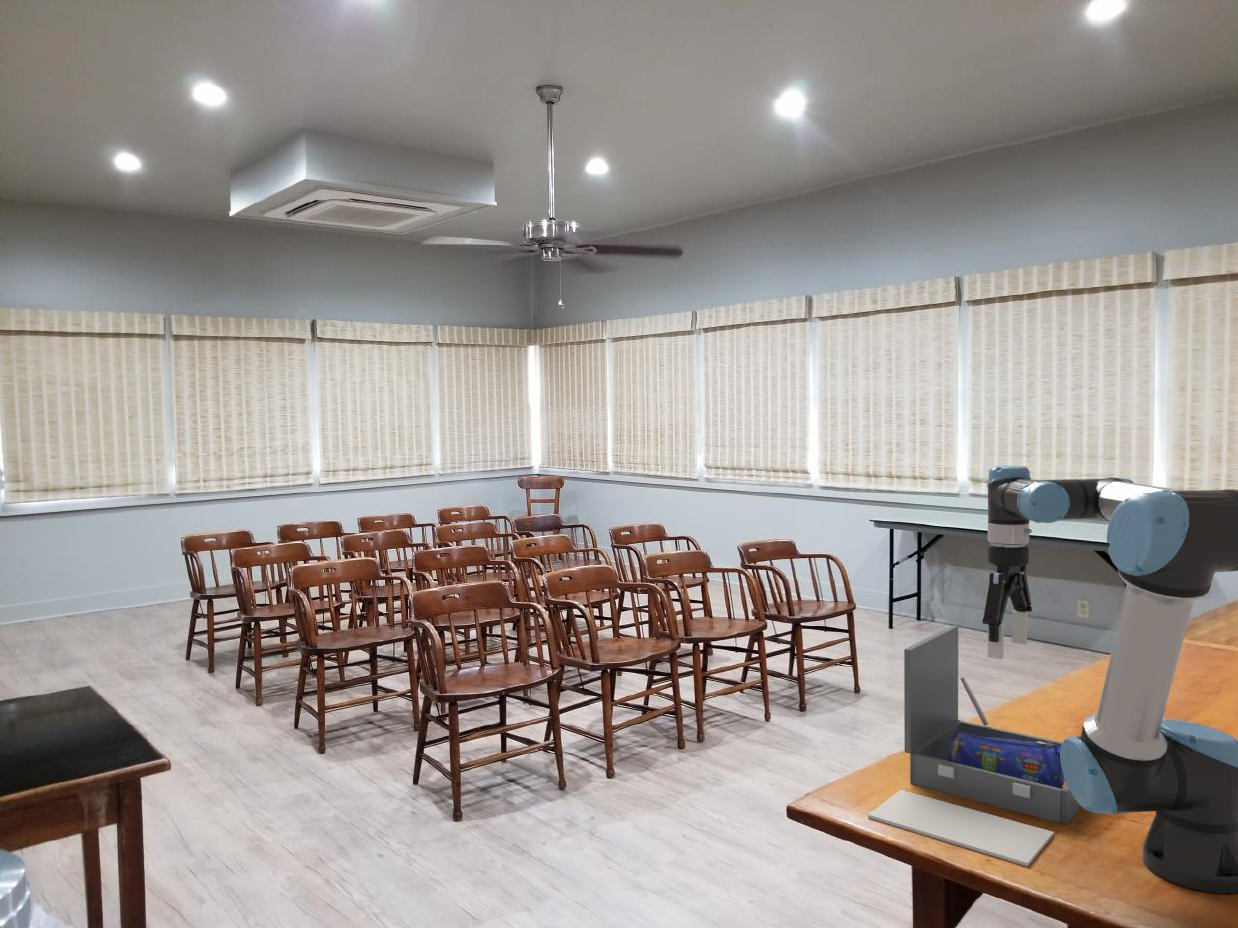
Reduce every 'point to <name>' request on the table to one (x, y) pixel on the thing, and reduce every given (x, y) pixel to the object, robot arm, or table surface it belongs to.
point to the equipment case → (937, 722)
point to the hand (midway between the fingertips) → (1007, 650)
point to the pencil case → (1009, 757)
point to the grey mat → (963, 827)
